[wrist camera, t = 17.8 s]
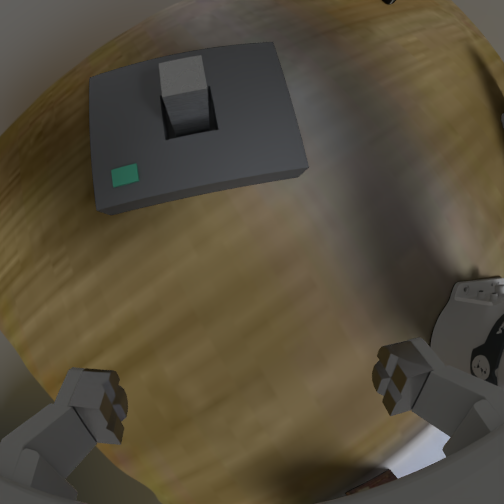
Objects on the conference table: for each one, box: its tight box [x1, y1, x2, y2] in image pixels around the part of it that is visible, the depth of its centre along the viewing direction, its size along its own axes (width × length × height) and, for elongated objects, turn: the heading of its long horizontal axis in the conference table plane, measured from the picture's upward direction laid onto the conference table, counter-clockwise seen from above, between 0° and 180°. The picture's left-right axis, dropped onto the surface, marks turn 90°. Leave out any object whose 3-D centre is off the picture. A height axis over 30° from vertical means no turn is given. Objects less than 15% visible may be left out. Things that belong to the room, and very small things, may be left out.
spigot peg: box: [159, 55, 210, 138], centre depth 29 cm, size 4×4×12 cm
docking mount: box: [89, 42, 309, 215], centre depth 33 cm, size 24×18×5 cm
